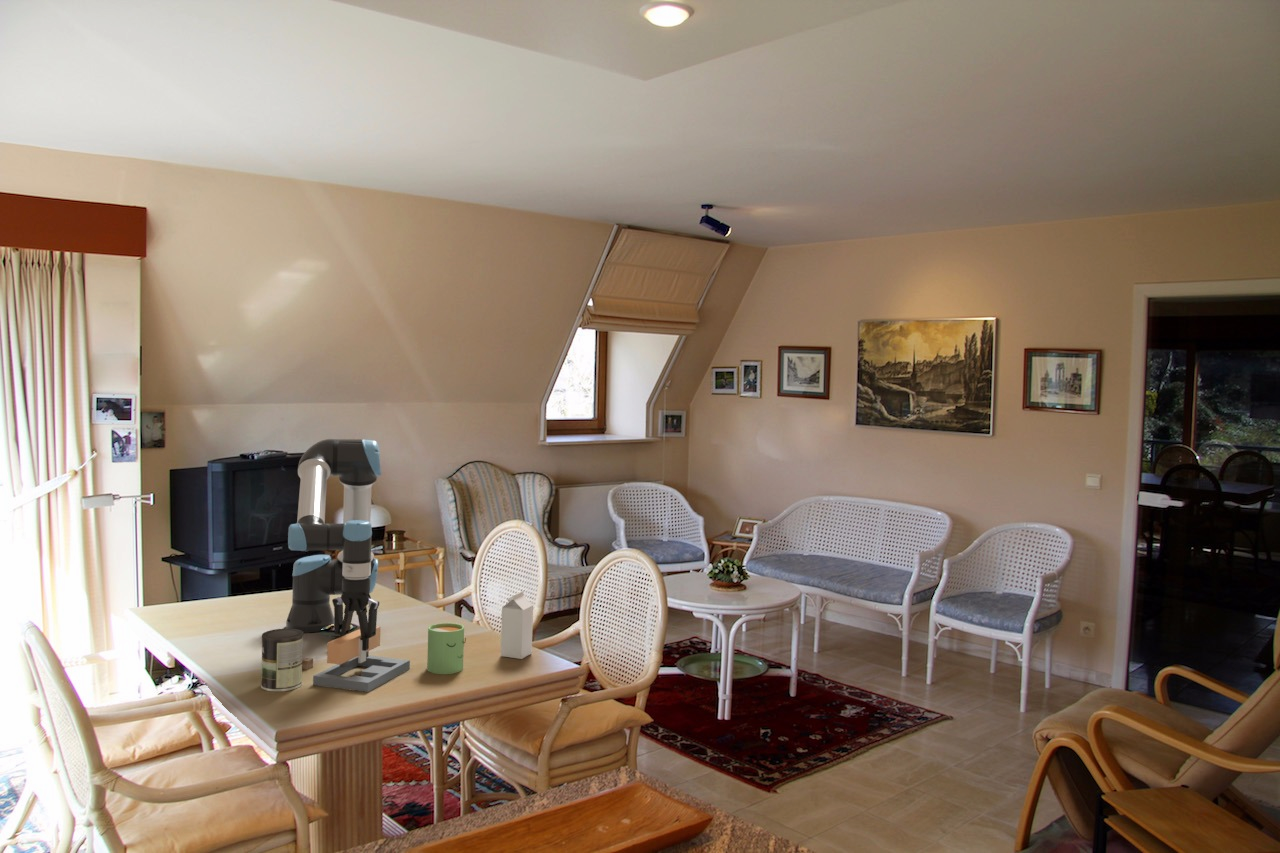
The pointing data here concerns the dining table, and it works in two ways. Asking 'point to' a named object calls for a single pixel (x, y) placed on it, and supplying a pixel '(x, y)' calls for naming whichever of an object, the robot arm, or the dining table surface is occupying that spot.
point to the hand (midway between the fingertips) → (354, 660)
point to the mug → (445, 648)
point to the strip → (349, 647)
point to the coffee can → (281, 660)
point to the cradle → (307, 663)
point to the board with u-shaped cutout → (363, 673)
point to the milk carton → (517, 627)
